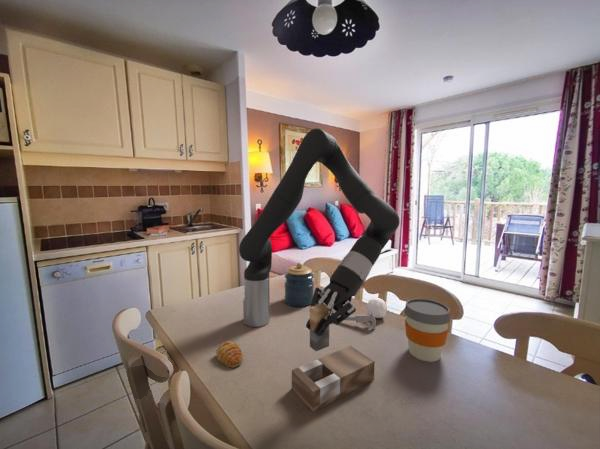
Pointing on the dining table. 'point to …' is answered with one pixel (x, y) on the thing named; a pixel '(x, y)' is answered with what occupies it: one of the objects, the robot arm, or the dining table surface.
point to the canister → (299, 285)
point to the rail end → (315, 317)
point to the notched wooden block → (332, 377)
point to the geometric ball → (377, 307)
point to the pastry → (229, 354)
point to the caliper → (363, 319)
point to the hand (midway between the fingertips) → (312, 331)
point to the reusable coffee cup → (426, 328)
